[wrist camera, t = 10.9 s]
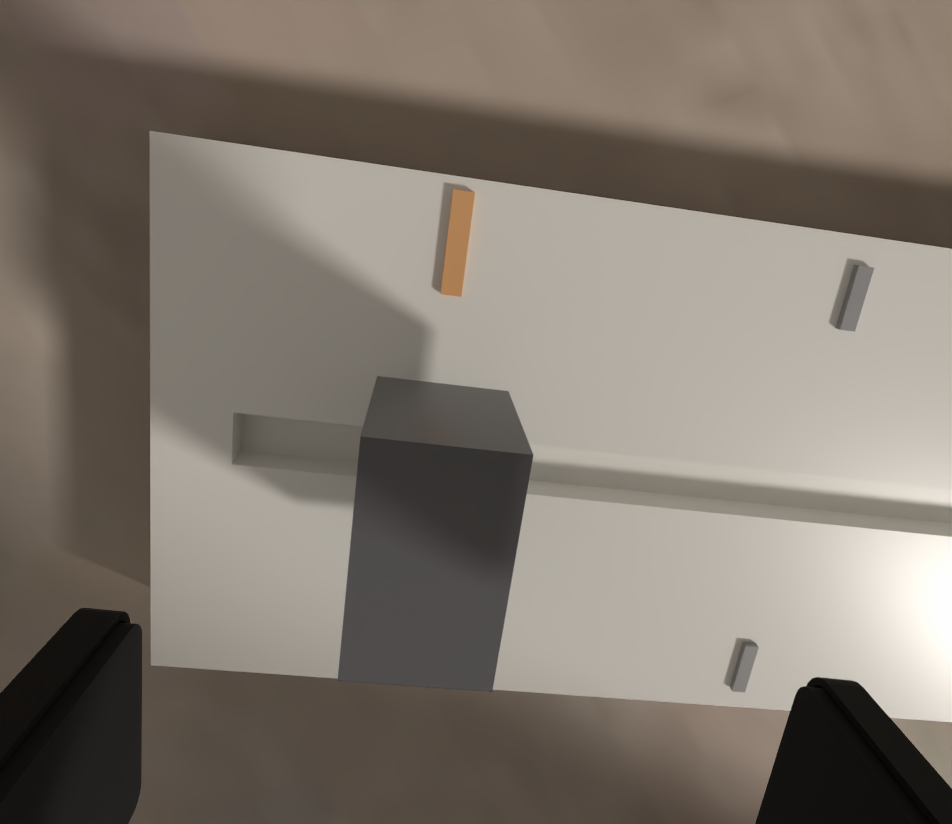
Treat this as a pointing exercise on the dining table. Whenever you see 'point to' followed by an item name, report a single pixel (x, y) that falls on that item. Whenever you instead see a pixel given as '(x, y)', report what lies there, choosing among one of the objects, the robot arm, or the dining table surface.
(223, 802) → the dining table surface
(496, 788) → the dining table surface
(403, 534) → the fader
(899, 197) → the dining table surface
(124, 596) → the dining table surface
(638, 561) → the slider console
